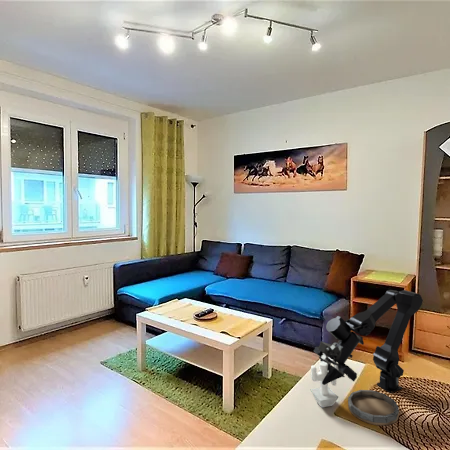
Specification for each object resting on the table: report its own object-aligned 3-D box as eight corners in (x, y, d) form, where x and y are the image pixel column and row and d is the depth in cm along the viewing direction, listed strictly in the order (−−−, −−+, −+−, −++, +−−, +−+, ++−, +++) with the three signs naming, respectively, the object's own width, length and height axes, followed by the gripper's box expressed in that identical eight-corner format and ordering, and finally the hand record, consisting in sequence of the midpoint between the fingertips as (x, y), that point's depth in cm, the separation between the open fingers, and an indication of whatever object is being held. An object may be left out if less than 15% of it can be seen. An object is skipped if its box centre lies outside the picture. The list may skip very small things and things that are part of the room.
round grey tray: (372, 391, 125) (371, 386, 125) (408, 414, 111) (408, 409, 111) (339, 401, 119) (339, 396, 119) (373, 428, 105) (373, 422, 105)
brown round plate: (372, 392, 125) (372, 390, 125) (409, 417, 111) (409, 414, 111) (338, 403, 119) (338, 401, 119) (373, 431, 105) (373, 428, 105)
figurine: (341, 406, 117) (340, 365, 116) (317, 411, 115) (316, 369, 114) (330, 394, 124) (329, 356, 123) (307, 399, 122) (306, 360, 121)
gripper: (316, 325, 128) (292, 358, 125) (348, 344, 110) (321, 383, 108) (334, 341, 131) (311, 374, 128) (368, 362, 113) (342, 400, 110)
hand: (320, 382), depth 118 cm, fingers closed on figurine, 3 cm apart
